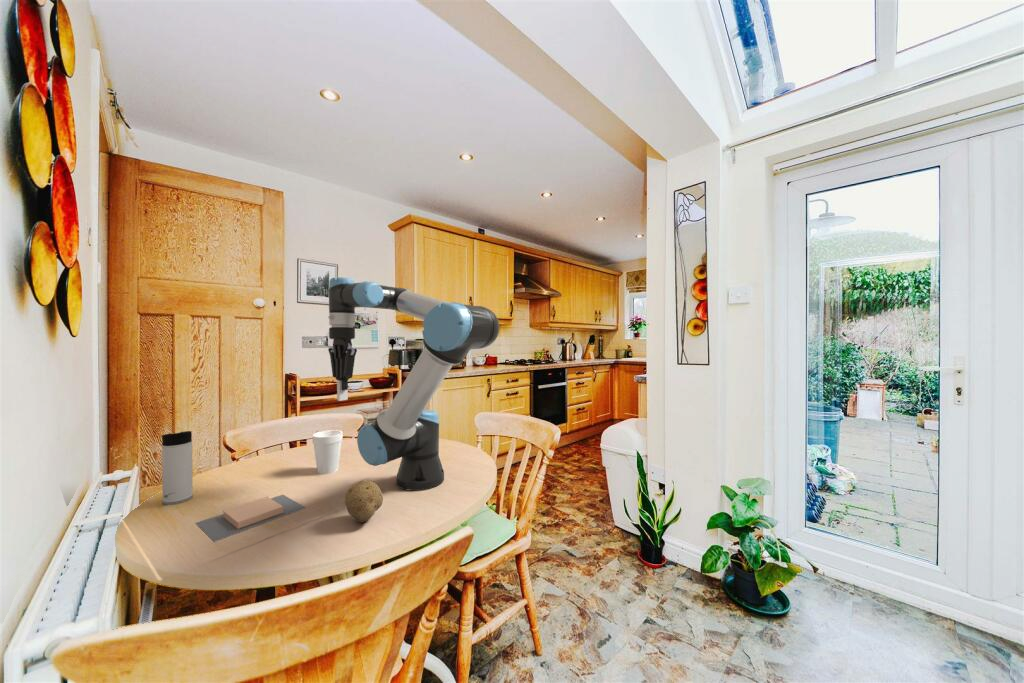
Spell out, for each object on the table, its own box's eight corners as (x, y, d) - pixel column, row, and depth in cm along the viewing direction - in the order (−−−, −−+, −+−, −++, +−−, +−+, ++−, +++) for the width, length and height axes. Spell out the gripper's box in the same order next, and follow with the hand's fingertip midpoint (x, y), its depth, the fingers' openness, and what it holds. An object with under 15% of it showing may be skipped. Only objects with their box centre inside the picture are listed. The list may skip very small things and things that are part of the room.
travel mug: (163, 509, 98) (162, 435, 98) (161, 501, 102) (160, 431, 102) (194, 501, 103) (193, 431, 102) (191, 494, 107) (190, 427, 107)
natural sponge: (365, 508, 99) (365, 472, 99) (390, 515, 95) (390, 477, 95) (337, 524, 91) (336, 484, 90) (363, 532, 87) (362, 491, 87)
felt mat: (306, 509, 98) (306, 507, 98) (213, 543, 82) (213, 541, 82) (283, 495, 106) (283, 494, 106) (195, 524, 90) (195, 522, 90)
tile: (267, 503, 101) (283, 513, 95) (223, 517, 93) (237, 529, 87) (267, 496, 101) (283, 506, 95) (223, 510, 93) (237, 522, 87)
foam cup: (314, 468, 129) (313, 431, 128) (342, 464, 133) (342, 429, 132) (311, 477, 120) (311, 438, 120) (342, 473, 124) (342, 435, 124)
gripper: (320, 326, 117) (320, 399, 117) (341, 326, 109) (342, 404, 110) (342, 327, 123) (342, 396, 124) (364, 326, 116) (364, 400, 116)
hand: (342, 399), depth 117 cm, fingers closed
